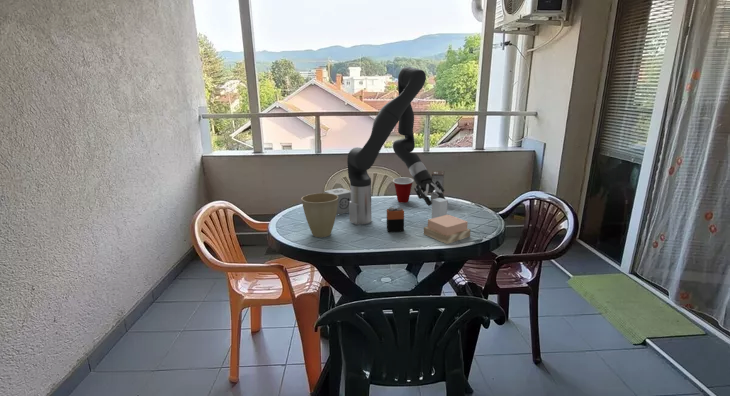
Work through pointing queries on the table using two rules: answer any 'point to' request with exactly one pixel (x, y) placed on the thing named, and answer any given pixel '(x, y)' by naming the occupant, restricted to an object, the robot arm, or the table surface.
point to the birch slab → (445, 238)
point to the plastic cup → (403, 188)
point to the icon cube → (341, 199)
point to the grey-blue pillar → (439, 207)
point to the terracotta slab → (447, 224)
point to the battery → (395, 219)
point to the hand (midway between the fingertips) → (437, 203)
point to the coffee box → (437, 177)
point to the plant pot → (320, 212)
